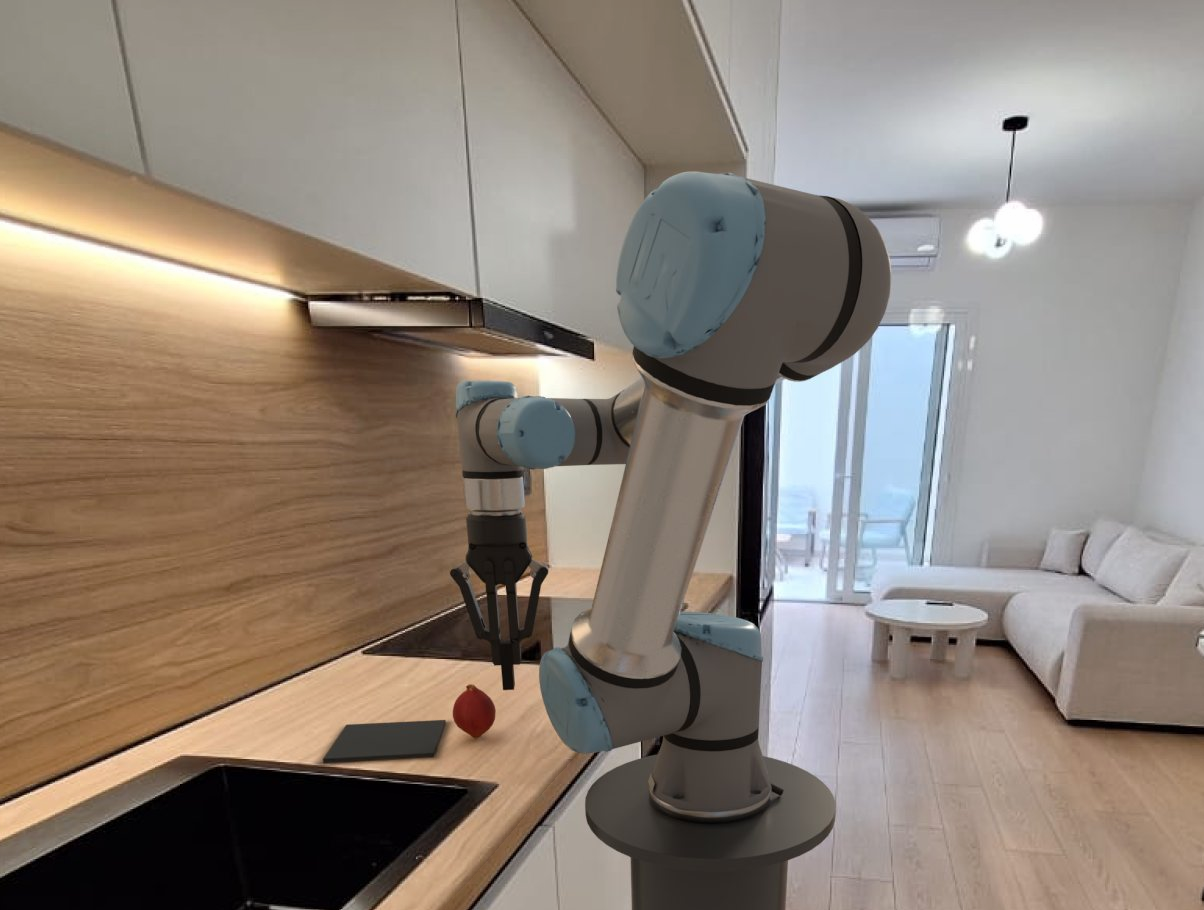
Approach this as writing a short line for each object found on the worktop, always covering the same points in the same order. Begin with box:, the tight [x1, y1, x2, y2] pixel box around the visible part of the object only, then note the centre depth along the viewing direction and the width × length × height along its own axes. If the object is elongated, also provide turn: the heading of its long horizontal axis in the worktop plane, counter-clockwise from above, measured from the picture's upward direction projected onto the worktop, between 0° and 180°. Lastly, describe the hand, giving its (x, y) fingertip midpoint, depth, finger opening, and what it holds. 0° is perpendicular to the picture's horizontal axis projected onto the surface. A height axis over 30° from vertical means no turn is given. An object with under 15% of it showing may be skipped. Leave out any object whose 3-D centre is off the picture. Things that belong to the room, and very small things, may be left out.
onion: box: [452, 683, 497, 739], centre depth 113 cm, size 6×6×8 cm
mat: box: [322, 719, 447, 764], centre depth 112 cm, size 14×13×1 cm
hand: (509, 686), depth 112 cm, fingers closed
